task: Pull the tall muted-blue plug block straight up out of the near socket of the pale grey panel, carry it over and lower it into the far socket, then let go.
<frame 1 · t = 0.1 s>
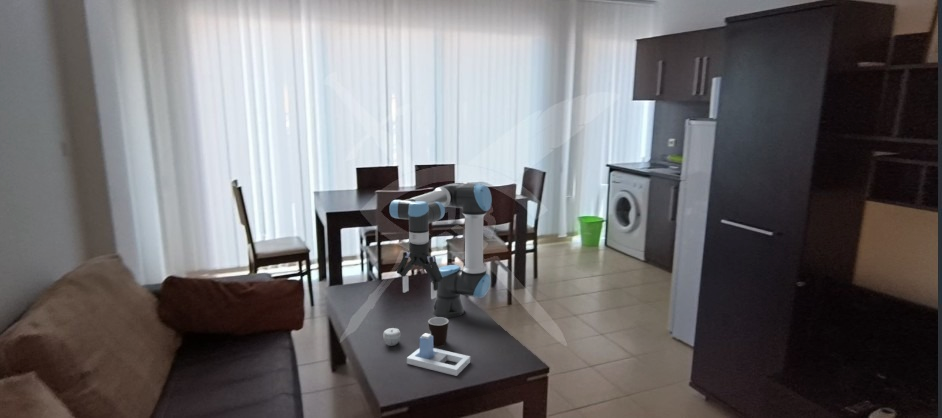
hand: (419, 294, 203), 28 cm above the table, fingers open, 13 cm apart
coffee mug: (439, 341, 225), on the table
panel: (438, 362, 206), on the table
apple: (392, 344, 222), on the table
plug: (426, 360, 208), resting in panel
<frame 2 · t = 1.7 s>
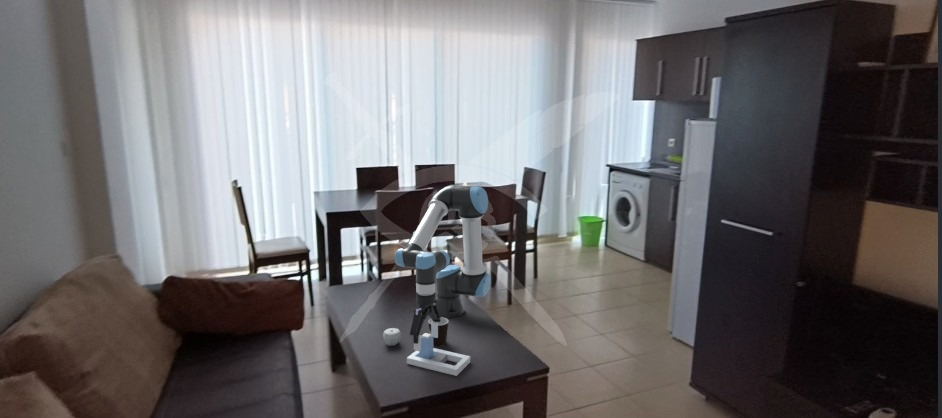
hand: (426, 343, 206), 7 cm above the table, fingers open, 13 cm apart
nothing on the table moved.
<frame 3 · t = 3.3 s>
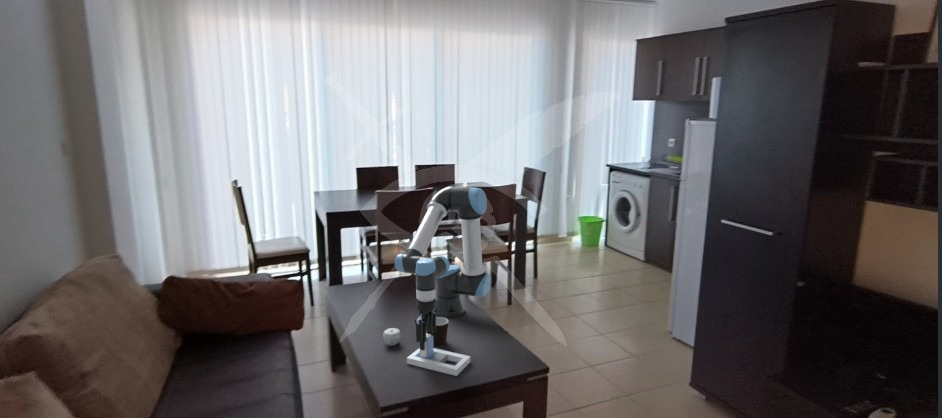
hand: (426, 353, 208), 3 cm above the table, fingers closed on plug, 4 cm apart
plug: (426, 360, 208), resting in panel, touching gripper
everything else where it was.
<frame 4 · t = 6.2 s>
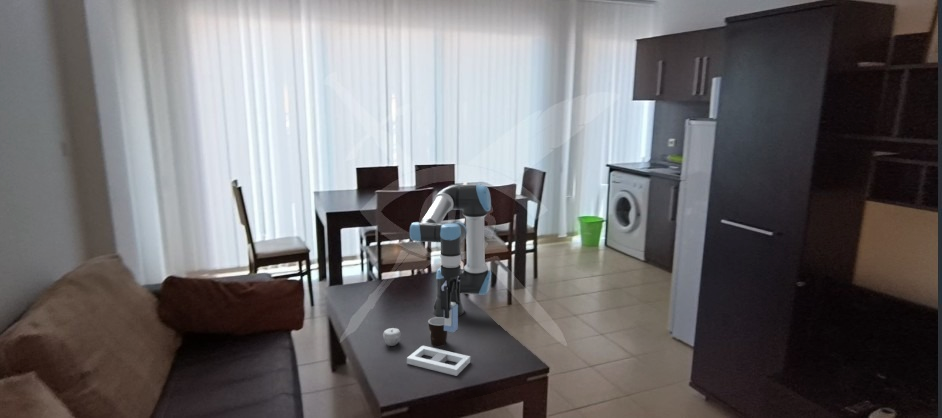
hand: (450, 323, 200), 18 cm above the table, fingers closed on plug, 4 cm apart
plug: (450, 329, 201), point 15 cm above the table, touching gripper
everything else where it was.
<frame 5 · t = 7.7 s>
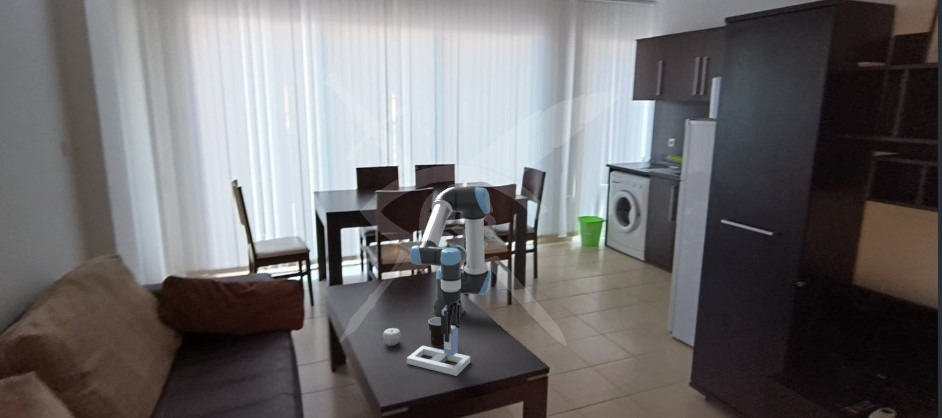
hand: (450, 346, 202), 8 cm above the table, fingers closed on plug, 4 cm apart
plug: (450, 352, 202), point 6 cm above the table, touching gripper
everything else where it was.
when the fingers open (4 cm above the table, at t = 9.2 s): plug drops 1 cm, resting in panel.
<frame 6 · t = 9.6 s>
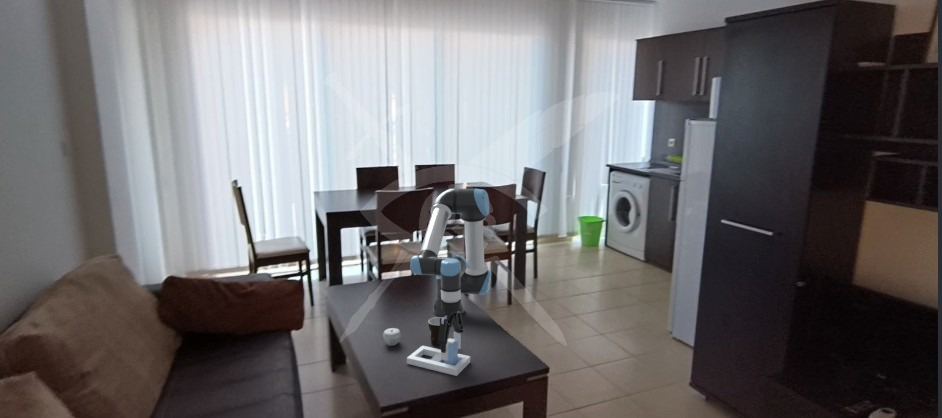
hand: (451, 353, 203), 5 cm above the table, fingers open, 10 cm apart
plug: (451, 365, 204), resting in panel
everything else where it was.
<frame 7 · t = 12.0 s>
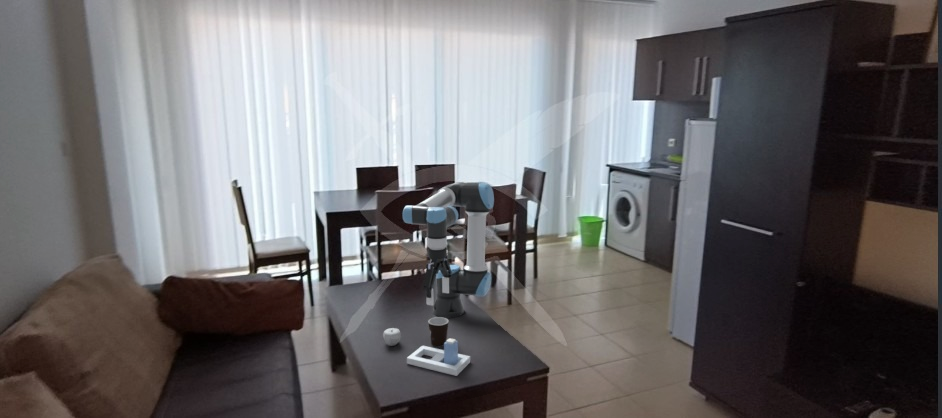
hand: (438, 298, 206), 25 cm above the table, fingers open, 13 cm apart
nothing on the table moved.
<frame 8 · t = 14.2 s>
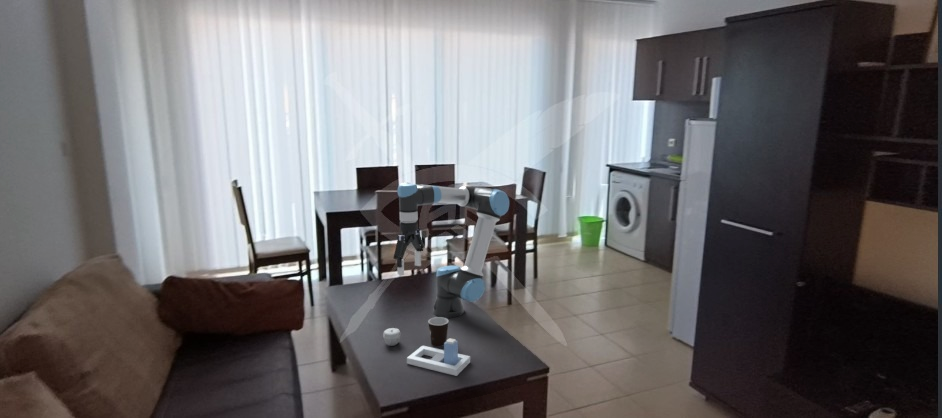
hand: (409, 270, 220), 32 cm above the table, fingers open, 13 cm apart
nothing on the table moved.
at the end: plug 0.0 cm from the target spot on the panel, point 0.0 cm above the panel's base; plug tilted 0°; the gripper is holding nothing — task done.
